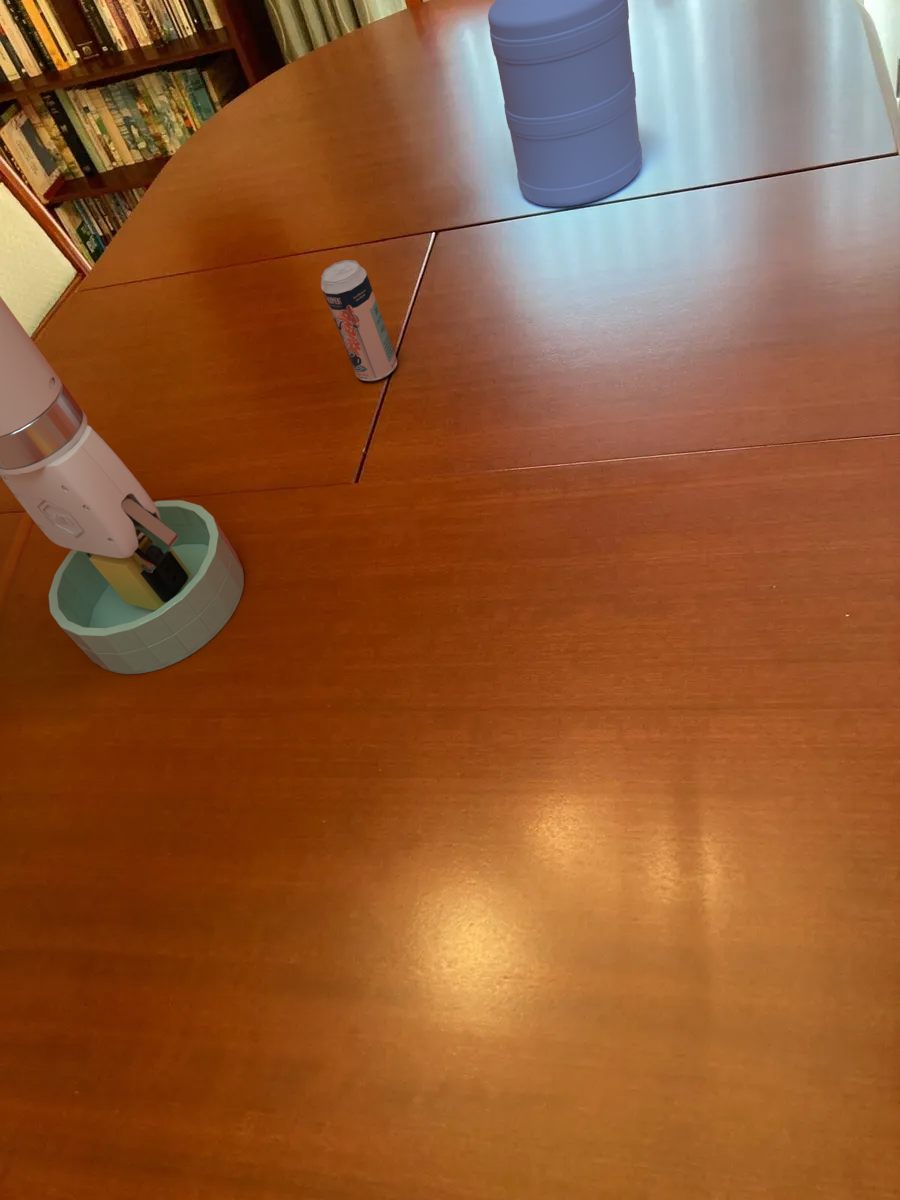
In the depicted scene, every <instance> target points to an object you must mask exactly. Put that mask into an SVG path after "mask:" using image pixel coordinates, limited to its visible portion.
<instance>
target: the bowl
mask: <svg viewBox="0 0 900 1200" xmlns="http://www.w3.org/2000/svg"><path fill="white" fill-rule="evenodd" d="M153 503H154V504H155V506H156V508H157V510H158V512H159V514H160V521H161V522H162V523H163V524H165V525H166V526H167V527H168V528H170V529H171V530H172V531H174V532H175V533H176V534H177V535H178V539H177V540H176V541H175V543H174V544H173V545H172V546H171V547H172V549H173V550H174V552H175V553H176V554H177V556H178V557H179V558H180V560H181V561H182V563H183V564H184V565H185V567H186V568H187V569H188V571H189V572H190V573H191V575H190V576H189V578H188V580H187V582H186V583H185V584H184V585H183V587H182V588H181V589H180V591H179V592H178V593H177V595H176V596H175V597H174V598H172V599H171V600H170V601H168V602H167V603H166V604H164V605H163V606H161V607H160V608H159V609H157V610H156V611H155V610H151V609H147V608H143V607H139V606H134V605H130V604H126V602H125V601H124V600H123V599H122V598H121V597H120V595H119V594H118V593H117V592H116V591H115V589H114V588H113V587H112V586H111V585H110V583H109V582H108V581H107V580H106V579H105V578H104V576H103V575H102V574H101V573H100V572H99V570H98V569H97V568H96V567H95V566H94V565H93V563H92V562H91V561H90V560H89V557H88V556H87V555H86V554H85V552H83V551H78V550H73V549H70V551H69V552H68V553H67V555H66V557H65V558H64V560H63V561H61V564H60V565H59V567H58V568H57V570H56V572H55V573H54V576H53V579H52V582H51V585H50V589H49V591H48V592H49V593H48V605H49V613H50V615H51V616H52V617H53V619H54V620H55V622H56V623H57V624H58V626H59V627H60V628H61V629H62V630H63V631H64V633H65V634H66V635H67V636H68V637H69V638H70V639H71V640H72V641H73V642H74V644H76V646H77V647H78V648H79V649H80V650H82V652H83V653H84V654H85V656H87V657H88V659H89V660H90V661H92V662H93V664H96V666H98V667H99V668H102V669H104V670H106V671H109V672H110V673H116V674H121V675H139V674H146V673H151V672H156V671H159V670H161V669H165V668H167V667H170V666H172V665H174V664H177V663H178V662H181V661H183V660H184V659H186V658H188V657H190V656H191V655H193V654H195V653H196V652H197V651H199V650H200V649H202V648H203V647H204V646H205V645H207V644H208V643H209V642H210V641H212V640H213V638H215V637H216V636H217V635H218V634H219V632H220V631H222V629H224V627H225V626H226V625H227V623H228V622H229V621H230V619H231V617H232V616H233V614H234V612H235V611H236V610H237V607H238V606H239V603H240V601H241V598H242V595H243V591H244V587H245V574H244V568H243V566H242V562H241V560H240V558H239V556H238V554H237V552H236V550H235V549H234V548H233V546H232V544H231V543H230V541H229V540H228V537H227V536H226V534H225V533H224V532H223V530H222V528H221V527H220V525H219V524H218V522H217V520H216V518H215V517H214V516H213V515H212V514H211V513H210V512H209V511H208V510H206V509H205V508H204V507H203V506H202V505H200V504H196V503H192V502H189V501H186V500H183V499H175V500H174V499H173V500H172V499H171V500H156V501H153Z"/></svg>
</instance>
